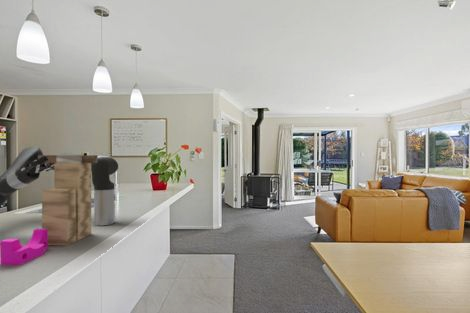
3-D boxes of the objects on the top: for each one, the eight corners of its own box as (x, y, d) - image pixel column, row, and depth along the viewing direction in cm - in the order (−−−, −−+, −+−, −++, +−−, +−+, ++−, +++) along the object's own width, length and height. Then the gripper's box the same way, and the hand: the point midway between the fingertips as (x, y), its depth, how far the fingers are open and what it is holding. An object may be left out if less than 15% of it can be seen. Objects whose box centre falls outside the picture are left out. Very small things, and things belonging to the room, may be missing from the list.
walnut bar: (43, 162, 118) (43, 155, 118) (97, 162, 117) (97, 155, 117) (37, 163, 115) (37, 155, 115) (92, 163, 113) (92, 155, 113)
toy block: (19, 265, 86) (19, 241, 86) (0, 265, 86) (0, 241, 86) (54, 249, 101) (54, 228, 101) (38, 248, 101) (37, 228, 101)
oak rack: (69, 233, 121) (69, 155, 121) (91, 233, 120) (91, 155, 120) (42, 244, 105) (41, 155, 105) (67, 245, 105) (66, 155, 104)
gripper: (40, 182, 124) (69, 164, 123) (12, 186, 110) (45, 165, 109) (32, 168, 124) (61, 150, 123) (3, 169, 110) (36, 149, 109)
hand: (54, 157), depth 116 cm, fingers open, 8 cm apart
